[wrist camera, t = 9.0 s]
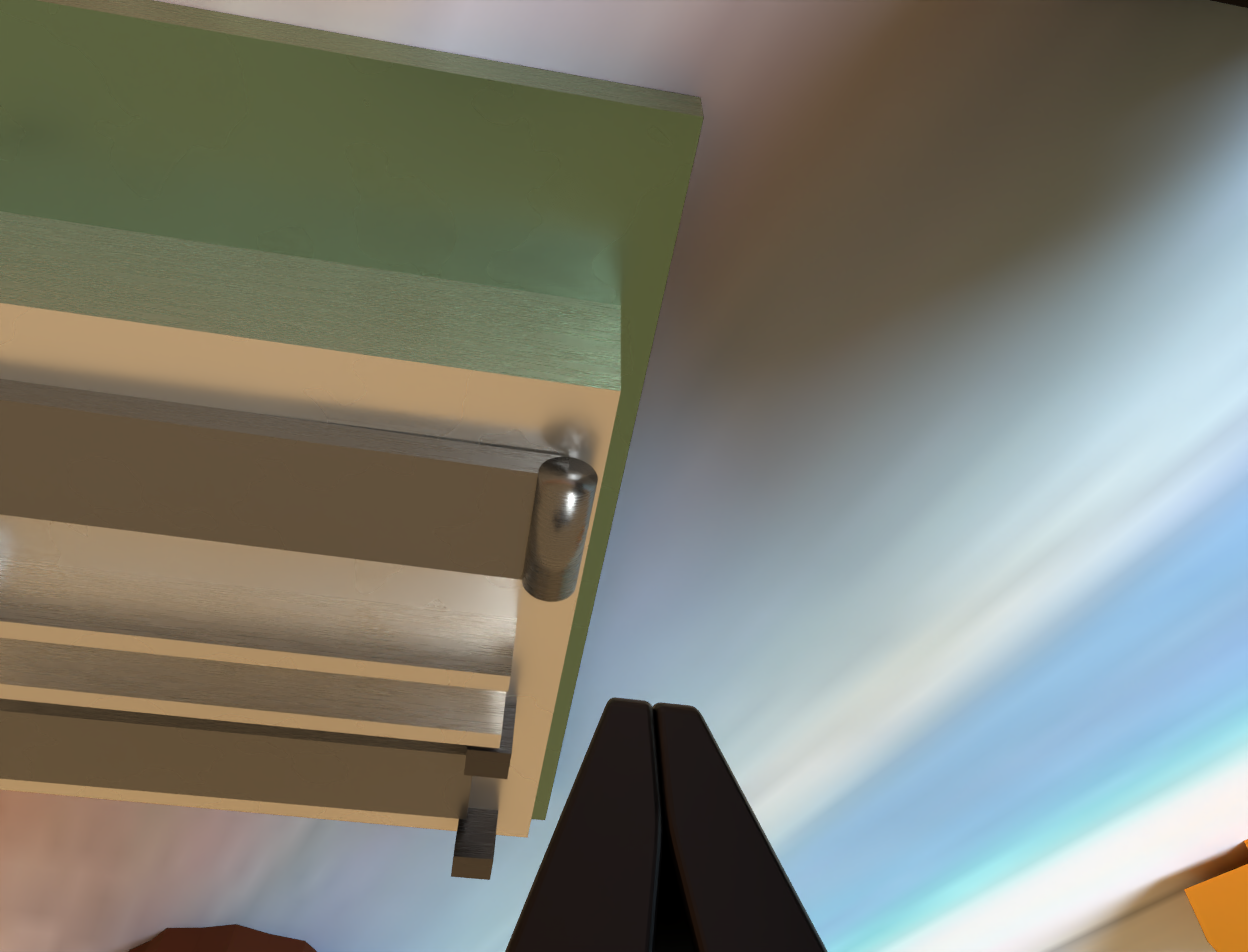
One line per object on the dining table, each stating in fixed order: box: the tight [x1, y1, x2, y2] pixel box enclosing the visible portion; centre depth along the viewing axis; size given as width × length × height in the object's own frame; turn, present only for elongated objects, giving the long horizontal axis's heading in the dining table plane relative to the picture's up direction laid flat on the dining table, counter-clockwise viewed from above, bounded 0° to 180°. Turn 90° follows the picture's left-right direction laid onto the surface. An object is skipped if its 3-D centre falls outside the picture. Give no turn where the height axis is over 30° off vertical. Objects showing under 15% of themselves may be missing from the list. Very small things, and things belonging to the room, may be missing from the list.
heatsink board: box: [0, 0, 704, 880], centre depth 23 cm, size 16×23×6 cm
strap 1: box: [0, 379, 598, 602], centre depth 19 cm, size 12×3×1 cm, turn 80°
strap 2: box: [0, 698, 472, 819], centre depth 24 cm, size 13×3×1 cm, turn 80°
